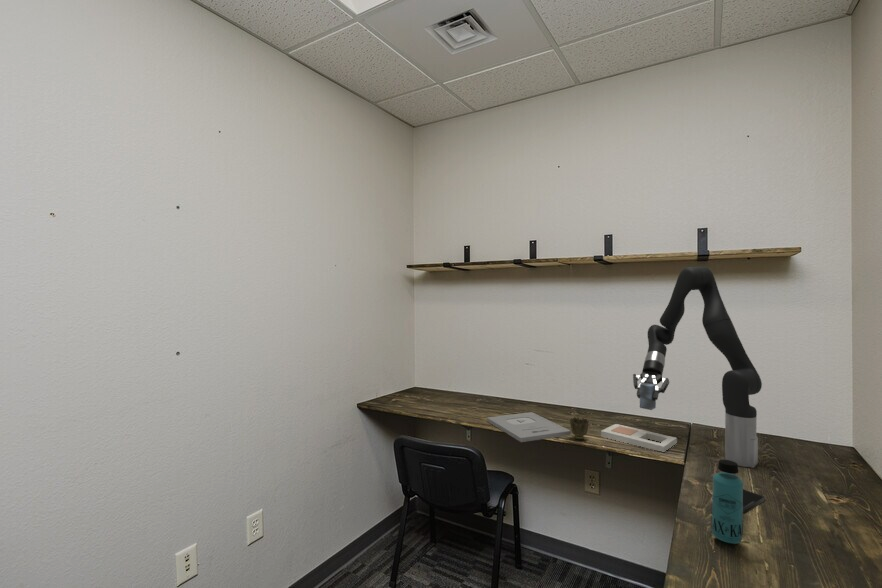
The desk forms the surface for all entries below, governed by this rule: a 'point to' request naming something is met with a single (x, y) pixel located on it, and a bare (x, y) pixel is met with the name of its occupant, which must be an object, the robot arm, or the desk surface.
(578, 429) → the dark brown textured piece
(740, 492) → the beverage bottle
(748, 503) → the phone
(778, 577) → the desk surface
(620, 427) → the puzzle board
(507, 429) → the award plaque
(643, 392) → the blue block
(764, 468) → the desk surface
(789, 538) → the desk surface
